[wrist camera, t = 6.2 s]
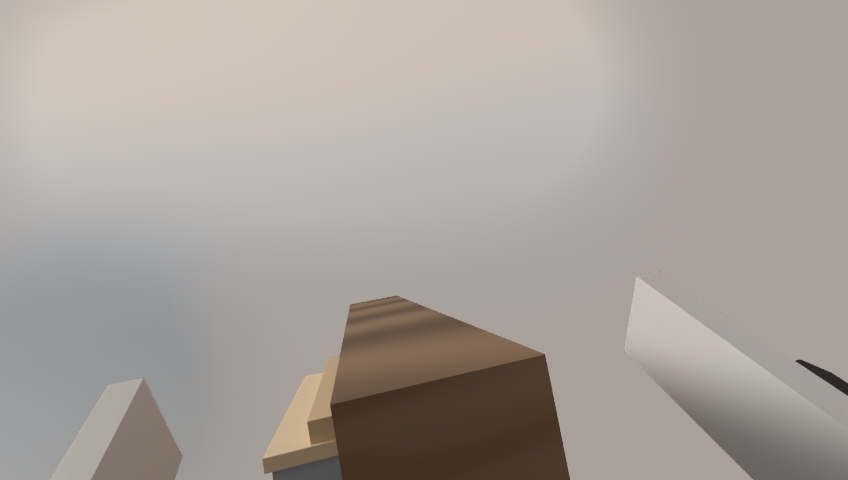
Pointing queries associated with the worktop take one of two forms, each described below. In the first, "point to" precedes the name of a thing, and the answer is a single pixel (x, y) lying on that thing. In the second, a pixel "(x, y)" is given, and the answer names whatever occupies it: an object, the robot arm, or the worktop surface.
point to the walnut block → (440, 400)
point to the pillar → (307, 433)
